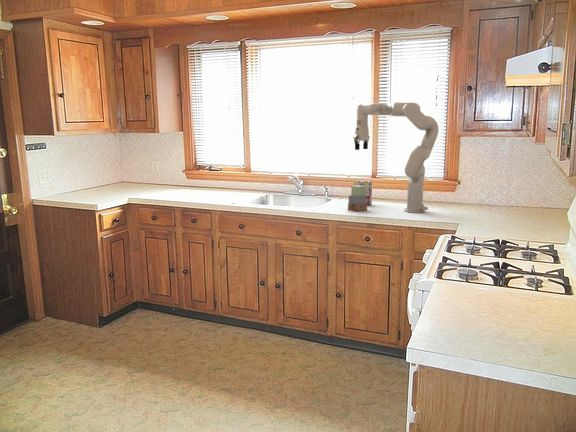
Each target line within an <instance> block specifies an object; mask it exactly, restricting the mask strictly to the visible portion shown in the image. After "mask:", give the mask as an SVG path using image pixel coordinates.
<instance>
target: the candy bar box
mask: <svg viewBox="0 0 576 432" xmlns="http://www.w3.org/2000/svg"><path fill="white" fill-rule="evenodd" d="M355 185H360V186H364V195H366V203H367V207H368V206H371V205H372V203H373V202H372V201H373V198H372V197H373V195H372V194H373V181H372V180H355V181H354V186H355Z"/></svg>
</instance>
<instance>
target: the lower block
mask: <svg viewBox="0 0 576 432" xmlns="http://www.w3.org/2000/svg"><path fill="white" fill-rule="evenodd" d="M367 210H368V206H367V203H363V204H352V203H349V202H347V211H348V212H349V211H350V212H356V213H357V212H358V213H362V212H365V211H367Z"/></svg>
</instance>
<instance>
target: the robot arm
mask: <svg viewBox="0 0 576 432" xmlns="http://www.w3.org/2000/svg"><path fill="white" fill-rule="evenodd" d="M355 107H356V111H355V113H356V114H355V117H356V118H355V133H354V136H353V142H354V150H355V151H360V142H361V141H362V142H363V146H362V149H363V150H368V148H369V145H368V144H369V141H370V135H369V134H370V131H369V125H368V124H369V123H368V122H369V121H368V120H369V115H370V116H391V117H406V118H407V119H408V121H409V122H411V124H412V125H413V126H414V127H415V128H416V129H417V130H420V131H423V134H422V135H421V137H420V141H419V143H418V146H415V147H413V149H412V150H411V153H410V154H409V156H408V160H407V162H406V164H405V168H404V174H405V175H406V177H407V178H408V179H407V180H408V181H407V197H406V198H407V200H406V201H407V202H406V208H404V212H406V213H410V214H411V213H413V214H415V213H416V214H418V213H419V214H420V213H425V212H426V211H428V210H429V207H428V206H425V204H423V203H424V183H425V175H426V167H425V165H424V163H425V161H427V160H428V159H429V158H430V156H431V153H432V151H433V148H434V147H435V144H436V141H437V138H438V134H439V125H438V123H437V121H436V120H435V118H434V117H432V116H429V115H425V113H423V112H422V111H421V106H420V105H419V103H416V102H392V103H378V102H371V103H370V102H369V103H357V104H356V106H355Z"/></svg>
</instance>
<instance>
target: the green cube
mask: <svg viewBox="0 0 576 432" xmlns="http://www.w3.org/2000/svg"><path fill="white" fill-rule="evenodd" d="M350 191H351V193H350V195H352V196H363V195H364V186H360V185H355V184H354V185H352V186H351V190H350Z"/></svg>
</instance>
